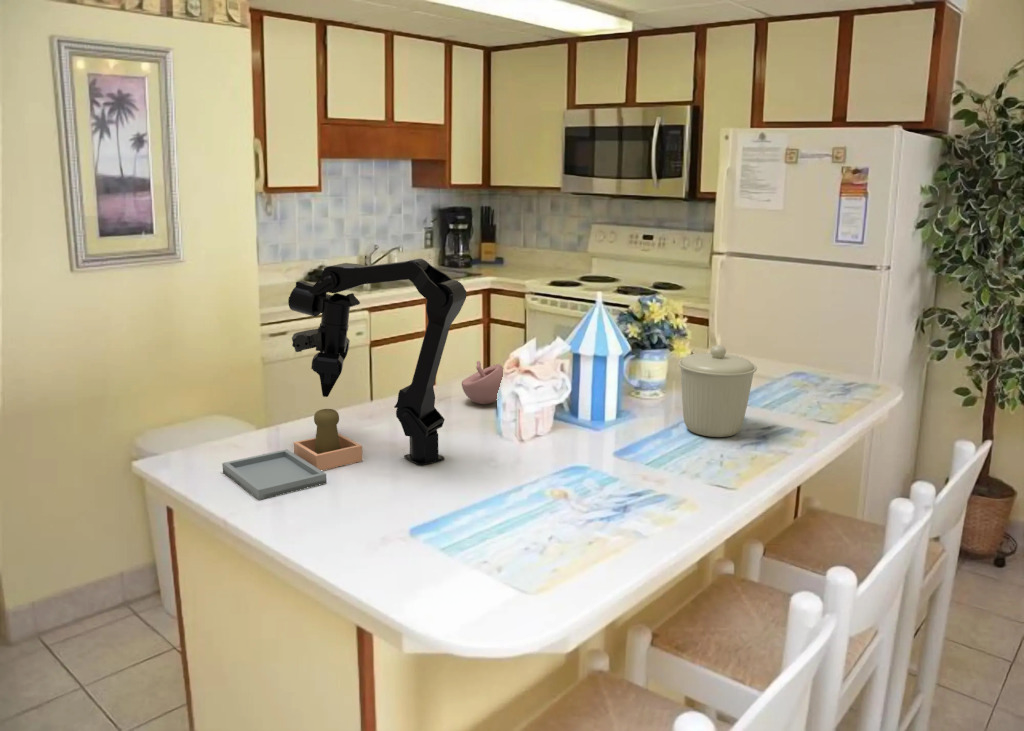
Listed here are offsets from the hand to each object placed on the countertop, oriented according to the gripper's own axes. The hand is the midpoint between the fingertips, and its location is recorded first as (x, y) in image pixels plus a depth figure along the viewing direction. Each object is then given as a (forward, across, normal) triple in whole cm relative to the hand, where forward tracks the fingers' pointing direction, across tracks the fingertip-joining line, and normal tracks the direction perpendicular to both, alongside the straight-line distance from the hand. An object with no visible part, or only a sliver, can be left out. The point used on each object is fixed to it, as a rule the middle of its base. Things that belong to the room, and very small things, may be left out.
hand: (327, 389), depth 187 cm
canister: (+1, -4, +91) cm, 91 cm away
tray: (+13, +20, -7) cm, 25 cm away
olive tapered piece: (+12, +10, +2) cm, 16 cm away
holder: (+12, +10, +2) cm, 16 cm away
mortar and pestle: (+10, -30, +38) cm, 50 cm away
